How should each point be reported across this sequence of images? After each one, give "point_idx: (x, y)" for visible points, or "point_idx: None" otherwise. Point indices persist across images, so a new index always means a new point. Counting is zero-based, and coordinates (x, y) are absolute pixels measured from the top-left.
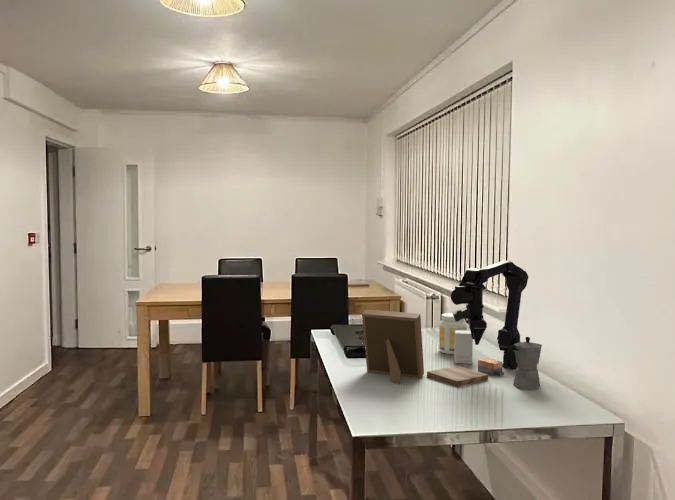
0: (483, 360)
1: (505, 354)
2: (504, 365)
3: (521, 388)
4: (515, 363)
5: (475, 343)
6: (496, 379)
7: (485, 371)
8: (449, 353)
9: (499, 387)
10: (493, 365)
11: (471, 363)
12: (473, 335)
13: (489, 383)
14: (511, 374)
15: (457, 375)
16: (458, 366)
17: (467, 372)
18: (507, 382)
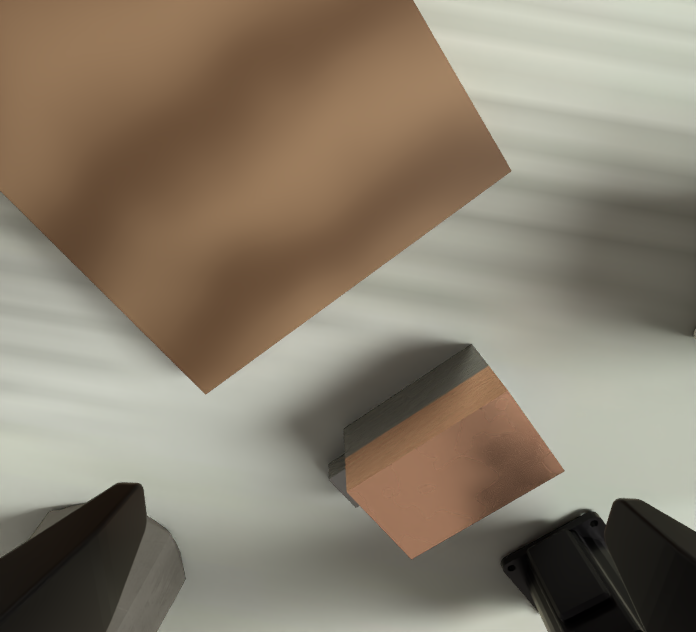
0: (467, 431)
1: (605, 618)
2: (554, 536)
3: (37, 528)
4: (537, 607)
5: (98, 499)
6: (242, 429)
7: (409, 394)
8: None
9: (35, 412)
10: (349, 478)
11: (694, 333)
12: (663, 584)
13: (123, 366)
14: (378, 532)
15: (118, 110)
16: (474, 181)
17: (252, 234)
18: (177, 479)
